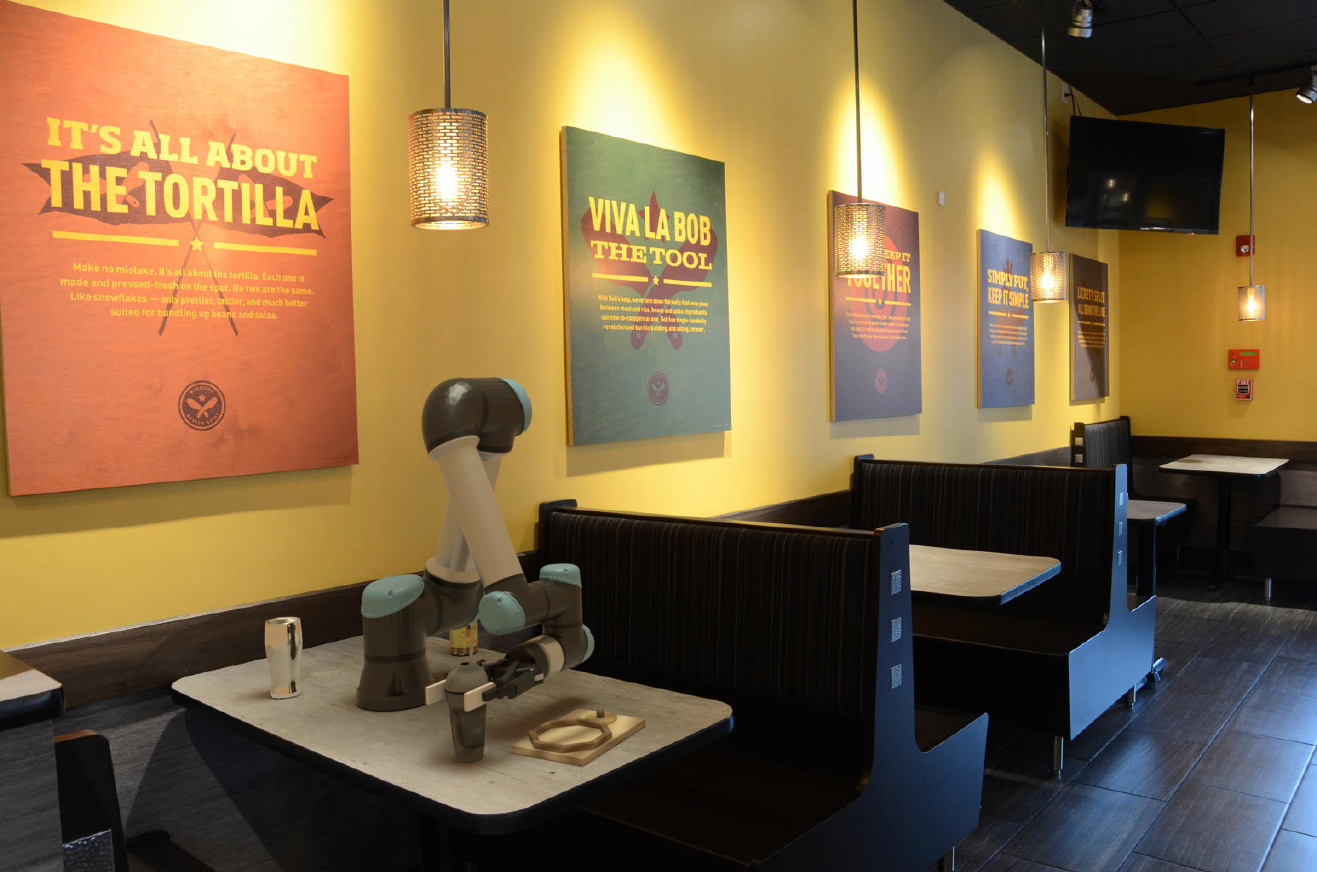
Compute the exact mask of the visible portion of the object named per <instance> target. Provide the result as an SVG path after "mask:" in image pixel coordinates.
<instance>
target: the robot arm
mask: <svg viewBox="0 0 1317 872" xmlns="http://www.w3.org/2000/svg"><path fill="white" fill-rule="evenodd" d="M532 406H533V405H532V402H531V398H530V397H529V396H528V393H527V391H526V390H525V387H523V386H522V385H521V383H519V382H518V381H516V380H513V379H511V378H503V377H502V378H501V377H498V376H492V377H466V378H465V377H452V378H448V379H446V380H443V381H442V382H440V383H439V384H437V385H436V386H435V387H434V388H433V389H432V390H431V391H430V392H429V394H428V395H427V397H426V400H425V402H424V405H423V407H422V413H421V433H422V440H423V443H424V447H425V449H426V452H427V454H428V457H429V459H431V460H433V461H435V462H436V463H437V466H438V468H439V470H440V473H441V476H442V478H443V482H444V484H445V488H446V489H447V493H448V498H447V503H446V506H445V507H446V508H445V512H444V516H443V521H442V526H441V529H440V534H439V538H438V544H437V547H436V553H435V555H434V556H433V557H431V558H429V559H428V560H426V563H425V567H424V571H423V576H420V575H417V574H412V573H411V574H409V573H406V574H403V573H402V574H397V575H393V576H392V575H391V576H386V577H383V578H380V579H378V580H375V581H372V582H370V583H369V584H368V585H367V586H366V587H365V588H364V589H363V592H362V593H361V594H362V595H361V607H360V612H361V615H362V617H361V618H362V636H363V637H362V639H363V658H364V659H363V667H362V671H361V674H360V680H359V684H358V686H357V688H356V692H355V693H356V694H355V696H356V697H355V698H356V699H355V700H356V705H357V704H358V705H359V706H360V707H359V706H358V705H357V706H358V707H359V708H360V709H361V708H362V709H363V708H365V709H364V710H367V709H368V711H378V712H388V711H391V710H392V711H400V710H407V708H408V709H411V708H416V707H420V706H423V705H428V706H430V705H432V704H435V703H437V702H439V701H442V700H445V699H447V698H446V692H445V691H444V688H445V682H446V678H447V675H448V674H449V672H450V671H451V670H449V671H447V672H444V673H443V675H442V676H443V680H441V681H439V682H436V679H434V678H433V674H432V670H431V666H430V665H429V661H428V658H427V649H426V647H427V646H426V645H427V644H426V638H430V637H433V636H437V635H441V634H443V633H446V632H450V631H451V630H457V629H461V628H463V627H466V626H468V625H470V624H472V623H474V622H476V621H477V622H478V620H479V621H480V624H481V625H482V627H483V628H484V629H485V631H487V633H490V634H491V635H495V636H501V635H506V634H510V633H518V632H520V631H521V630H524V629H528V628H529V627H533V626H535V625H539V624H541V626H542V634H541V635H539V636H536V637H533V638H530V639H529V640H527V641H524V642H522V643H519V644H517V645H514V646H512V647H511V648H509V650H507V652H506V653H505V655H504V657H503V658H501V659H498V660H497V661H494V662H490V663H489V662H488V663H486V662H487V661H486V659H479V660H478V661H475V663H476V664H478V665H479V666H481V667H482V668H483V669H484V671H485V672H486V674H487V677H488V682H489V683H487V684H485V685H483V686H481V687H478V688H476V689H474V690H471V691H469V692H467V693H465V694H464V707H465V711H471V710H473V709H475V708H477V707H479V706H481V705H484V704H486V703H487V704H488V703H490V702H492V701H494V700H495V699H497V700H503V698H505V697H507V700H514V699H516V698H518V697H519V696H520V695H522V694H524V693H526V692H527V691H529V690H531V689H532V688H534V687H536V686H539V685H542V684H544V682H546V680H547V679H549V678H551V677H554V676H556V675H557V674H559V673H560V674H561V672H564V671H566V670H569V669H571V668H575V667H577V666H579V665H580V664H582V663H583V662H585V661H586V660H587V659H589V658H590V657H591V655H592V654H593V651H594V649H595V640H594V636H593V634H592V632H591V630H590V628H588V627H587V626H586V625H584V621H583V603H582V602H583V600H582V598H583V597H582V595H583V594H582V589H583V586H582V580H581V570H580V568H579V566H577V565H575V564H572V563H554V564H553V563H552V564H546V565H544V566H543V567H541V569H540V571H539V577H538V579H539V580H537V581H532V582H528V581H527V578H526V576H525V574H524V572H523V569H522V566H521V563H520V561H519V557H518V555H517V553H516V550H515V547H514V544H513V541H512V538H511V536H510V534H509V531H508V528H507V526H506V523H505V520H504V518H503V515H502V512H501V509H500V506H499V504H498V502H497V499H496V496H495V494H494V493H495V490H496V486H497V481H498V477H499V472H500V469H501V465H502V460H503V458H504V457H505V456H507V455H509V454H511V453H512V450H513V447H514V442H515V438H516V437H519V436H521V435H522V434H523V433H524V432H526V431H527V430H528V428H530V426H531V423H532V418H533V407H532ZM422 704H423V705H422Z"/></svg>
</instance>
